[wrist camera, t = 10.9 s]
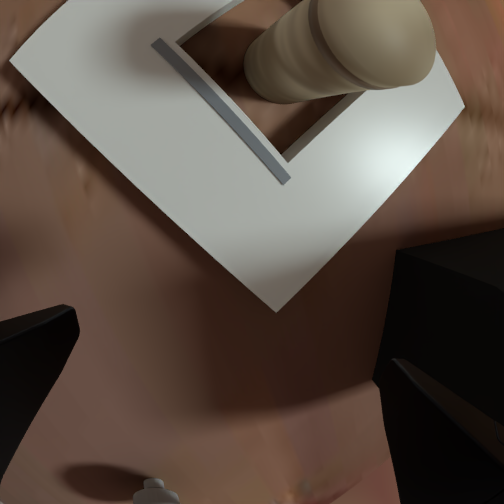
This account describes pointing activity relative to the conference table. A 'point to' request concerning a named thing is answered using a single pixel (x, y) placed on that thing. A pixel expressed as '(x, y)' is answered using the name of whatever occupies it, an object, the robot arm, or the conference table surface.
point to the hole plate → (229, 138)
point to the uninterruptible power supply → (451, 317)
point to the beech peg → (341, 49)
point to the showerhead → (155, 493)
